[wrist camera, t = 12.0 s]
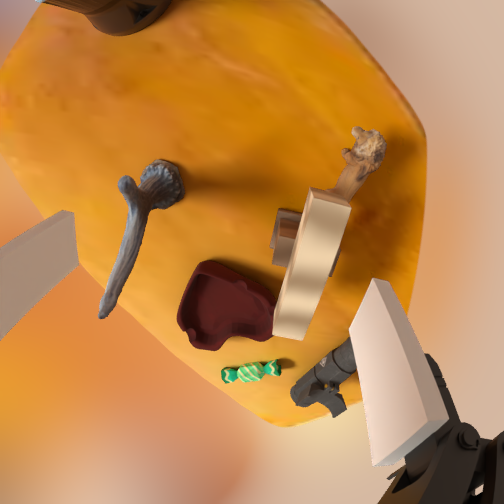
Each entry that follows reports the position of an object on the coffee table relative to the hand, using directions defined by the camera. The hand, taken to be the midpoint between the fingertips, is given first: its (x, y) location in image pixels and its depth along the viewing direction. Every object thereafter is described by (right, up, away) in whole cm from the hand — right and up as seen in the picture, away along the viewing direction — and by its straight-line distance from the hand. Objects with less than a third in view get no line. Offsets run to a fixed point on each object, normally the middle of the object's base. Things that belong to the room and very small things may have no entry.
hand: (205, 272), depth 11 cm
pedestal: (+10, +4, +31) cm, 33 cm away
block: (+9, 0, +24) cm, 26 cm away
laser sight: (+18, -21, +43) cm, 51 cm away
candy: (+2, -23, +46) cm, 51 cm away
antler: (-11, +10, +31) cm, 34 cm away
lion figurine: (+14, +12, +27) cm, 33 cm away
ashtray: (-3, -7, +38) cm, 39 cm away
